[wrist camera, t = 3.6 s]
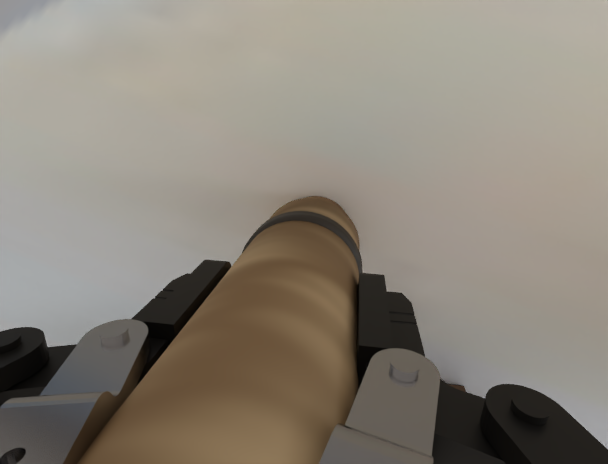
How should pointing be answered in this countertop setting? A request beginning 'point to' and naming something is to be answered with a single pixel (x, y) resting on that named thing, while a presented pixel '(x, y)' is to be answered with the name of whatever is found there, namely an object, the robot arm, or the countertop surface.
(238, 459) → the oak peg
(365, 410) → the robot arm
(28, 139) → the countertop surface
